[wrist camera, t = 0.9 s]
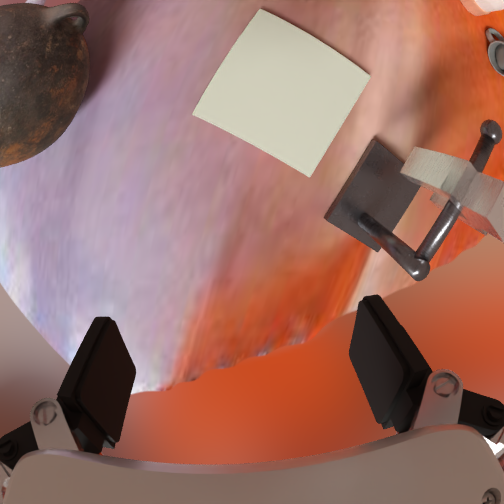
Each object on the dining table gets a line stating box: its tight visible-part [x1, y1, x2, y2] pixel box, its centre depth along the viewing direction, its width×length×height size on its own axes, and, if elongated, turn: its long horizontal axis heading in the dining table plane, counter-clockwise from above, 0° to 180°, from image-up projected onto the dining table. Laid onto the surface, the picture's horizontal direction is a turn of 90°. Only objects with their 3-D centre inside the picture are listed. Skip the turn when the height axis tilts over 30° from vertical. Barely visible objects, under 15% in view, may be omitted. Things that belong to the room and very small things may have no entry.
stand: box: [324, 120, 502, 281], centre depth 31 cm, size 24×11×18 cm, turn 151°
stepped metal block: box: [400, 146, 504, 243], centre depth 25 cm, size 4×8×14 cm, turn 61°
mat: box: [192, 9, 371, 177], centre depth 33 cm, size 18×18×1 cm
